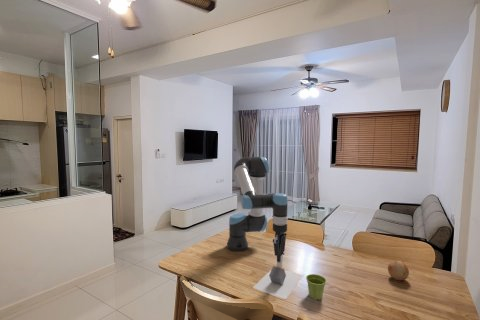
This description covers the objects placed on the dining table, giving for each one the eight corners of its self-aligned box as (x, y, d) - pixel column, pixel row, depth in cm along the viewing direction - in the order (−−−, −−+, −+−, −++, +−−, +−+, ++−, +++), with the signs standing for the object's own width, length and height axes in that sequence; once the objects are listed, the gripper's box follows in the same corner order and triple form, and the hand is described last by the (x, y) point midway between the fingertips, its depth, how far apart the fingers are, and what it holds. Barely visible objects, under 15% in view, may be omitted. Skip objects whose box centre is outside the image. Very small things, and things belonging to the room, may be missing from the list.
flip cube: (275, 272, 137) (271, 282, 133) (273, 265, 134) (269, 275, 130) (286, 275, 134) (282, 285, 130) (283, 268, 131) (279, 278, 127)
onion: (398, 285, 131) (399, 266, 130) (383, 275, 140) (383, 258, 140) (413, 282, 133) (414, 264, 133) (397, 273, 143) (397, 256, 142)
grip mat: (252, 288, 128) (252, 287, 128) (274, 267, 150) (274, 266, 150) (285, 300, 118) (285, 299, 118) (303, 276, 140) (303, 275, 140)
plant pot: (310, 288, 128) (310, 271, 127) (328, 295, 122) (329, 278, 121) (302, 297, 121) (302, 279, 120) (321, 305, 115) (321, 286, 114)
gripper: (281, 228, 124) (281, 274, 126) (291, 221, 135) (290, 263, 137) (268, 225, 129) (267, 270, 130) (278, 219, 139) (278, 260, 141)
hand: (279, 266), depth 133 cm, fingers closed
